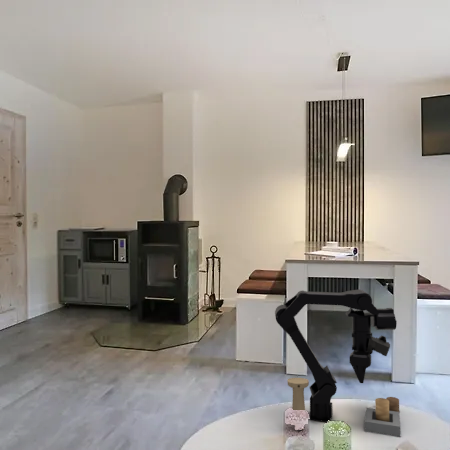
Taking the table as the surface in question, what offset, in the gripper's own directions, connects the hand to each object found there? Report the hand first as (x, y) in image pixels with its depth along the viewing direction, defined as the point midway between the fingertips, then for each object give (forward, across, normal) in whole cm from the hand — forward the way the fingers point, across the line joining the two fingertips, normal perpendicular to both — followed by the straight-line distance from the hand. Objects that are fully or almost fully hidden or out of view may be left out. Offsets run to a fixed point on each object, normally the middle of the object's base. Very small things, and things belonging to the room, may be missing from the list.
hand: (362, 377), depth 137 cm
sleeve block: (+13, -4, -6) cm, 15 cm away
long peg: (+13, -4, -6) cm, 15 cm away
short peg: (+13, +8, -9) cm, 18 cm away
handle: (+13, -14, +18) cm, 26 cm away
